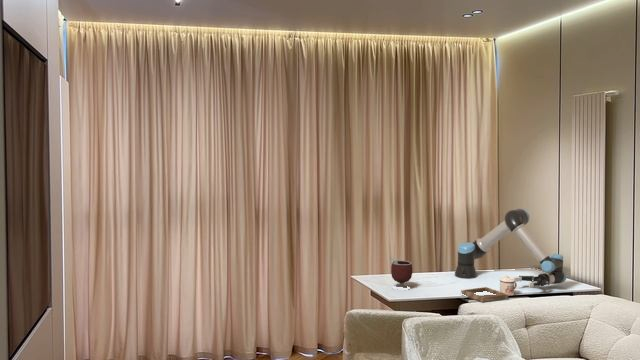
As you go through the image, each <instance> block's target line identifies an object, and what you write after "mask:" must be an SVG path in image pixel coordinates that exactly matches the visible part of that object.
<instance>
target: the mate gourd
mask: <svg viewBox="0 0 640 360" xmlns="http://www.w3.org/2000/svg"><path fill="white" fill-rule="evenodd" d="M390 259H392V261H391V267H390V272H391V273H390V275H391V278H392V280H394V282H397V283H398V284H396V285H397V286H396V287H403V288H407V286H408V285H406V286H404V285H405V284H404V283H408V282H409V281H410V280H411V279H412V278H413V277H412V276H413V264H412V262H411V261H408V260H396V258H394V257H393V256H390Z"/></svg>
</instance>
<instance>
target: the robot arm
mask: <svg viewBox="0 0 640 360" xmlns="http://www.w3.org/2000/svg"><path fill="white" fill-rule="evenodd" d="M529 221H530V214H529V213H528V211H527V210H526V209H524V208H516V209H511V210H508V211H507V212H506V213H505V215H504V220H503V221H502V222H500V223H499V224H498V225H497V226H495V227H494V228H493V229H491V230H490V231H489V232H487V233H486V234H485V235H483V236H482V237H481V238H480V237H479V238H477V239H475V240H474V241H472V242H461V243H458V246H457V266H456V269H455V271H454V276H455V277H456V278H461V279H475V278H477V271H476V267H475V260H476V259H481V258H483V257H484V256H485V255H486V254H487V253H489V249H490V248H491V247H493V246H494V245H495V244H496V243H497V242H499V241H500V240H502V239H503V238H504V237H505V236H507V235H508V234H509V233H510V232H511V233H513V234H514V235H516V236H517V238H518V239H519V240H520V241H521V243H522V244H523V245H524V246H525V247H526V249H528V251H529V253H531V255H532V256H533V257H534V258H535V259H536V260H537V261H538V262H537V263H539V264H540V268H541V270H542V272H543V273H539V274H538V276H534V275H519V276H517V277H513V278H512V279H513V280H514V281H515V282H516V283H517V282H518V283H519V282H528V288H531V287H537V286H538V287H544V286H547V285H548V286H550V285H554V284H557V285H558V284H562V283H564V282H566V280H567V276H566V275H567V274H566V273H565V272H564V271H563V270H564V255H563V254H559V253H552V254H551V256H550V255H549V254H548V253H547V252H546V250H545V249H544V248H543V247H542V246H541V245H540V244H539V242H538V241H537V240H536V238H534V236H533V235H532V234H531V233H530V232H529V231H528V229H527V228H526V227H525V225H527V224H528V223H529Z"/></svg>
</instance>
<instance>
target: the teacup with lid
mask: <svg viewBox="0 0 640 360" xmlns="http://www.w3.org/2000/svg"><path fill="white" fill-rule="evenodd" d="M499 281H500V283H499V292H502V293H505V294H508V297H509V296H514V294H515V290H516V289H517V286H518V284H517V282H515V281H514V280H513V278H512V277H510V275H505V277H501V278H500V279H499Z"/></svg>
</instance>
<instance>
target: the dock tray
mask: <svg viewBox="0 0 640 360" xmlns="http://www.w3.org/2000/svg"><path fill="white" fill-rule="evenodd" d="M483 291H487V292H490V293H493V294H496V295H484V296H479V295H476V294H474V293H476V292H483ZM461 293H462V294H464V295H466V296H468V297H467V298H468V299H471V300H474V301H476V302H479V303H481V304H483V303H484V304H485V303H492V302H493V303H494V302H497V301H499V302H500V301H507V300H509V296H508V294H505V293H502V292H500V290H496V289H492V288H490V287H487V286H484V287H476V288H468V289H461V291H460V294H461Z"/></svg>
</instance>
